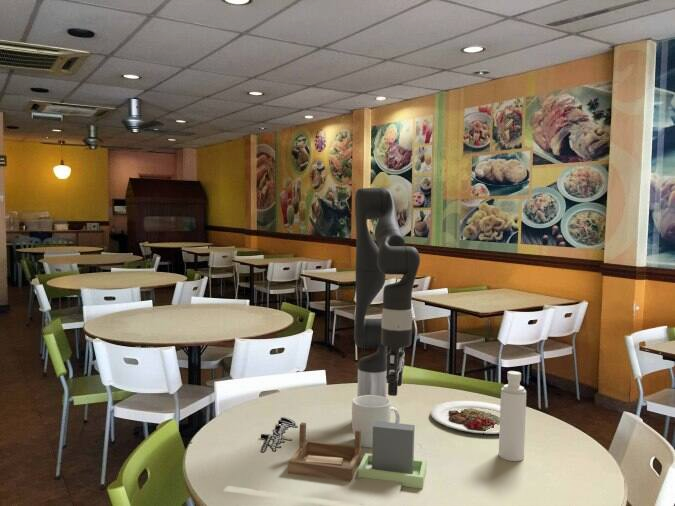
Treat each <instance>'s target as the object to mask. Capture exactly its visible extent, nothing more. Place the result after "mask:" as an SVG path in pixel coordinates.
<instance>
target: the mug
mask: <svg viewBox="0 0 675 506" xmlns="http://www.w3.org/2000/svg"><path fill="white" fill-rule="evenodd" d="M351 402H352V403H351V404H352V405H351V426H352V427H351V428H352V432H353V437H355V431H356V429H357V428H358V429H361V447H364V448H371V449H372V442H373V425H374V423H375V421H380V422H390V423H391V412H392V411H393V412H394V413H395V420H394V421H395V422H394V423H400V421H401V416H400V413H399V411H398V409H397V408H396V407H393V406H391V404H392V403H391V400H390V399H389V398H388V397H386V398H385V397H382V396H376V395H363V396H358V397H357V396H356V397H354V398H353V399H352V401H351Z"/></svg>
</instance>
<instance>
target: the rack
mask: <svg viewBox="0 0 675 506" xmlns="http://www.w3.org/2000/svg"><path fill="white" fill-rule="evenodd" d="M298 434H299V437H298V440H299V443H298V444H299V446H298V449H297V450H296V451H295V453H294V454H293V455H292V456H291V457H290V459H289V460H288V474H292V475H299V476H307V477H315V478H323V479H330V480H337V481H345V482H352V481H353V479H354V477H355V474H356V472H357V471H358V468H359V466H360V464H361V462H362V460H363V452H364V451H363V447H364V446H361V429H358V428H357V429H356V431H355V436H354V445H350V444H349V445H348V444H339V443H331V442H324V441H314V440H307V422H301V423H300V424H299V433H298ZM308 455H310V456H323V457H336V458H343V464H344V466H337V465H329V464H321V463H313V462H305V461H306V459H307V457H308Z"/></svg>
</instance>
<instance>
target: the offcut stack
mask: <svg viewBox="0 0 675 506" xmlns="http://www.w3.org/2000/svg"><path fill="white" fill-rule="evenodd" d="M305 462H313V463H321V464H329V465H337V466H344V464H343V458H336V457H323V456H310V455H308V457H307V459H306V461H305Z"/></svg>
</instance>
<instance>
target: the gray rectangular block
mask: <svg viewBox="0 0 675 506" xmlns="http://www.w3.org/2000/svg"><path fill="white" fill-rule="evenodd" d="M371 450H372V451H371V454H372V462H371V469H374V470H382V471H390V472H398V473H406V474H413V464H414V459H415V457H414V456H415V424H408V423H407V424H406V423H400V422H399V423H395V422H391V421H390V422H380V421H375V423H374V425H373V442H372V448H371Z"/></svg>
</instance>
